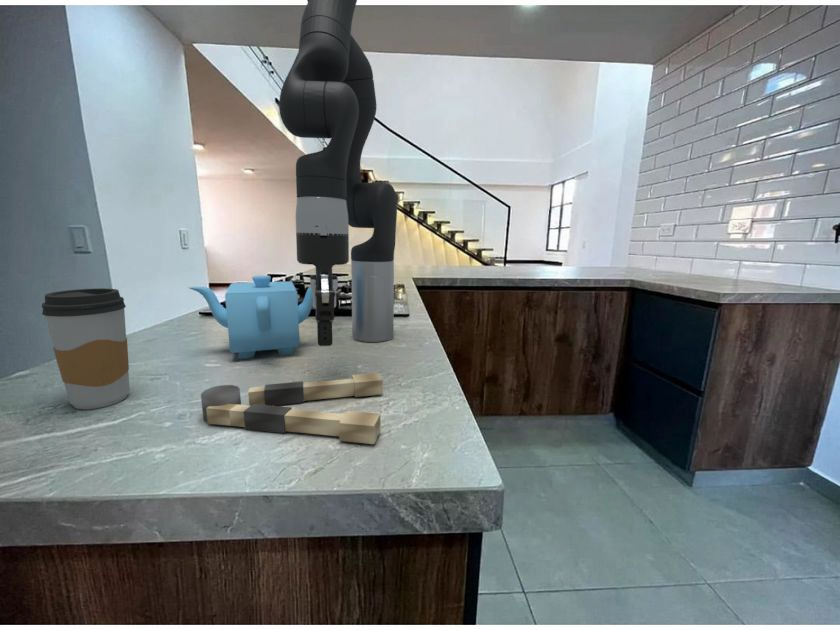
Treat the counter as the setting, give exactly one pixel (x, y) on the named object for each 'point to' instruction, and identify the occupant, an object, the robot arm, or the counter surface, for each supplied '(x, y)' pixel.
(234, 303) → the teakettle
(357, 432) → the tongs frame
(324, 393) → the tong arm
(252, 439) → the counter surface
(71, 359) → the coffee cup
